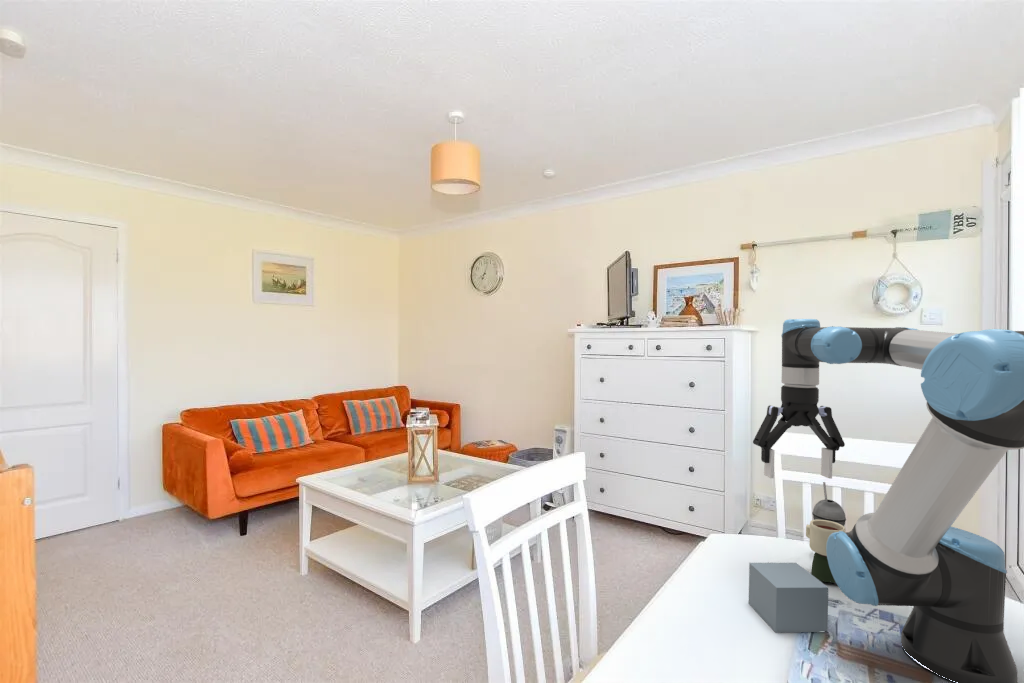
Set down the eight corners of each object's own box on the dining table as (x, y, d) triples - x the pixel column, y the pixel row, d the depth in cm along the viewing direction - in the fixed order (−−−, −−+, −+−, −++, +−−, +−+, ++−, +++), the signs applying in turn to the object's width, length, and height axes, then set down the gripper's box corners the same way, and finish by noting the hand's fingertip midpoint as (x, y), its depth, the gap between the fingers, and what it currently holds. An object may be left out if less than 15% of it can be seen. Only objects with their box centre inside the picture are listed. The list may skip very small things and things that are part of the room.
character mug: (860, 588, 111) (861, 532, 111) (837, 593, 108) (838, 536, 108) (816, 566, 121) (817, 514, 121) (794, 570, 119) (795, 518, 119)
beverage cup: (844, 570, 119) (846, 489, 119) (809, 561, 124) (811, 483, 123) (846, 559, 125) (847, 482, 125) (812, 551, 129) (814, 477, 129)
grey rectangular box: (795, 603, 104) (796, 562, 104) (827, 632, 94) (828, 587, 94) (748, 603, 104) (749, 562, 104) (775, 632, 94) (776, 587, 94)
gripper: (841, 384, 117) (838, 472, 117) (738, 383, 116) (736, 471, 116) (864, 387, 109) (862, 481, 109) (755, 387, 108) (753, 481, 109)
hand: (797, 476), depth 113 cm, fingers open, 13 cm apart
